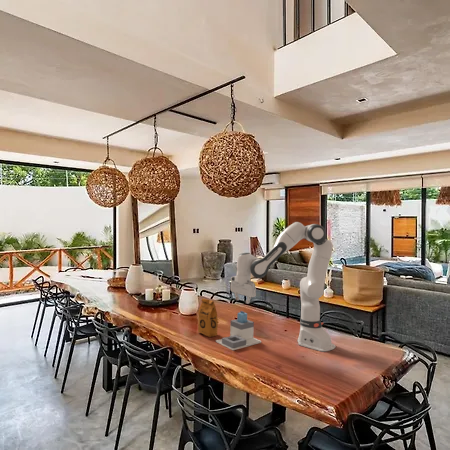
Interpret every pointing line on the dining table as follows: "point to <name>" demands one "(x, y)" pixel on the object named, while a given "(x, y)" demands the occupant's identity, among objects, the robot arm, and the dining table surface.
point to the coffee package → (207, 318)
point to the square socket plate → (239, 335)
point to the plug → (242, 317)
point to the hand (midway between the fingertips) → (242, 301)
